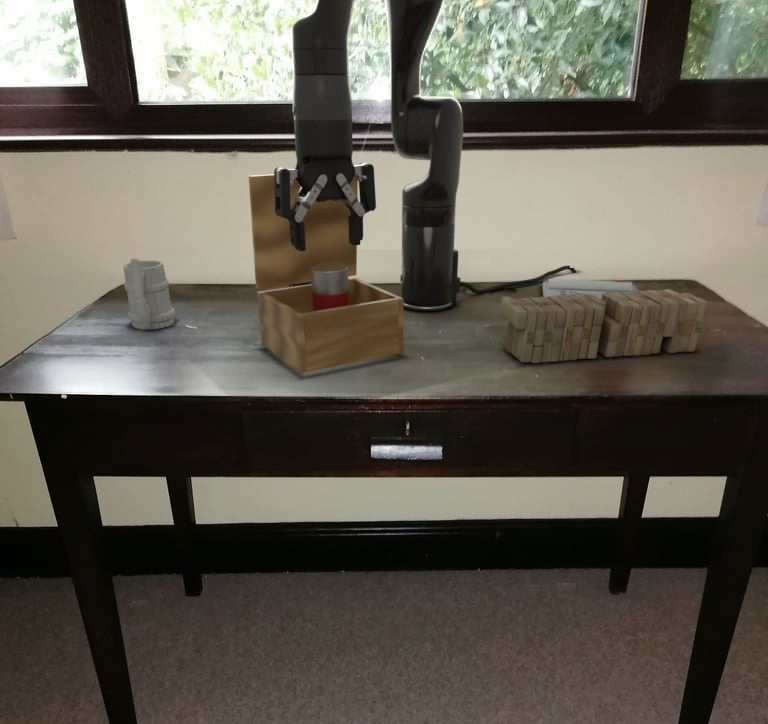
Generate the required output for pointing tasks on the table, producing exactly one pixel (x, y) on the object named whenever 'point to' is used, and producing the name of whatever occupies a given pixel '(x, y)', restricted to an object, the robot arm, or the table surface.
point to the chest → (331, 326)
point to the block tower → (602, 325)
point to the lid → (273, 240)
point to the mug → (148, 295)
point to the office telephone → (585, 287)
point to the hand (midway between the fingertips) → (328, 247)
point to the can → (329, 286)
